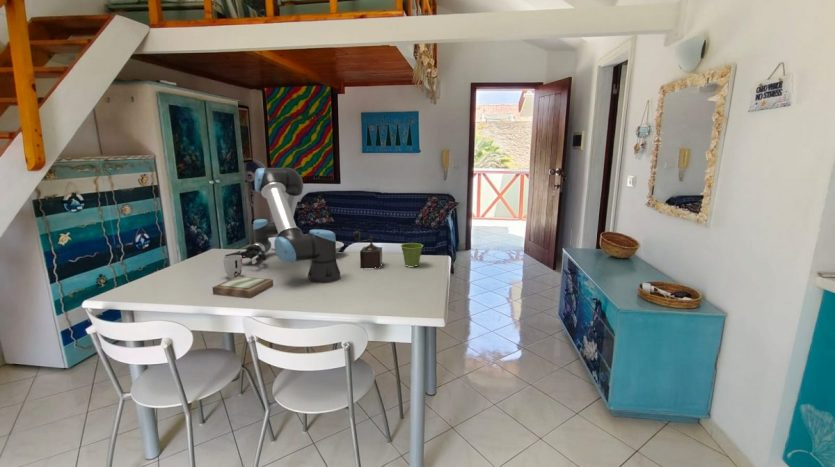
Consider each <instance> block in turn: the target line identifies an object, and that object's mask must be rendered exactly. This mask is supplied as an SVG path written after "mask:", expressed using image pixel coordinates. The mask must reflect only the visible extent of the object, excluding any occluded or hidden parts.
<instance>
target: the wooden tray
mask: <svg viewBox="0 0 835 467" xmlns="http://www.w3.org/2000/svg"><path fill="white" fill-rule="evenodd" d="M273 286H274V279H272V278H263V277H261V278H260V277H251V276H241V275H240V276H237V277H235V278H233V279H229V280H226V281H224V282H222V283H219V284H217V285H215V286H212V287H211V288H212V294H213V295H217V296H227V297H236V298H237V297H238V298H245V299H246V298H248V299H252V298H254V297H255V296H257V295H260V294H261V293H262V292H264V291H266V290H268V289H270V288H271V287H273Z"/></svg>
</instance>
